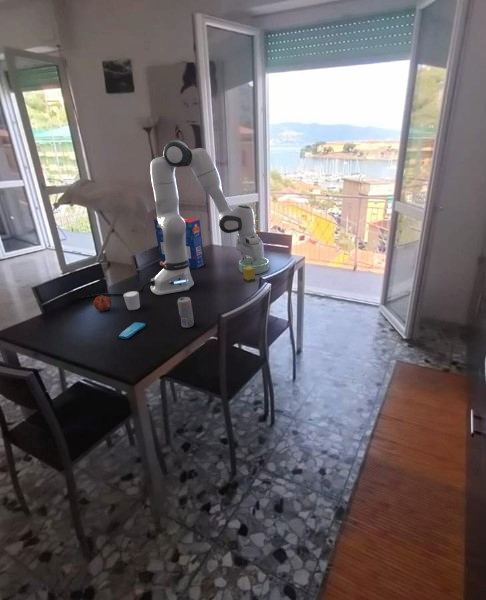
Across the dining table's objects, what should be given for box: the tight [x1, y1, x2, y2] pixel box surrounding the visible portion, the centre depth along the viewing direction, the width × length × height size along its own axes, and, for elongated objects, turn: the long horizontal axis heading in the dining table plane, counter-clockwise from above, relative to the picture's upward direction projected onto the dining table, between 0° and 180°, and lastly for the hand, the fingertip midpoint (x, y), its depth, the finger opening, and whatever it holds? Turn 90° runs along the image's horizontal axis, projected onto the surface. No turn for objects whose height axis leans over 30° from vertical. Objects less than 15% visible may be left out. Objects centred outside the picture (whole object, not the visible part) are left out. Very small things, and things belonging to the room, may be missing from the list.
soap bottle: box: [255, 219, 265, 258], centre depth 223 cm, size 9×9×25 cm
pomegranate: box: [93, 295, 112, 312], centre depth 164 cm, size 7×7×10 cm
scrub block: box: [242, 266, 256, 283], centre depth 193 cm, size 4×4×7 cm
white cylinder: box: [122, 290, 141, 311], centre depth 165 cm, size 7×7×7 cm
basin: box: [238, 256, 270, 275], centre depth 209 cm, size 18×18×5 cm
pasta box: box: [153, 217, 205, 270], centre depth 217 cm, size 28×8×28 cm, turn 64°
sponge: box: [118, 322, 146, 340], centre depth 146 cm, size 2×12×6 cm
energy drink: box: [177, 296, 195, 329], centre depth 147 cm, size 5×5×12 cm
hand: (249, 262), depth 190 cm, fingers open, 8 cm apart
